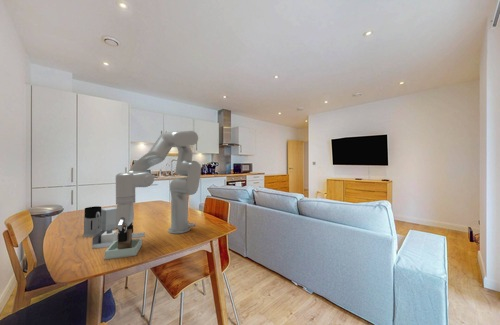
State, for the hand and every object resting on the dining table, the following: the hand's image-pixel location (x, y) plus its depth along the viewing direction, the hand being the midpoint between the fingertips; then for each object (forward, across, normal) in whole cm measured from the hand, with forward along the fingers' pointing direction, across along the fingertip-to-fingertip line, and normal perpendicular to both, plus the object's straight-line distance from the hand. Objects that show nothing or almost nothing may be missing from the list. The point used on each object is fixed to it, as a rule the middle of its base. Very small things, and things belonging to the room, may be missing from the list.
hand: (126, 237), depth 89 cm
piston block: (+6, -13, -11) cm, 18 cm away
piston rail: (+7, -13, -6) cm, 16 cm away
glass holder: (+7, -28, -23) cm, 37 cm away
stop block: (+6, 0, 0) cm, 6 cm away
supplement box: (+7, -38, -19) cm, 43 cm away
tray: (+6, 0, 0) cm, 7 cm away
